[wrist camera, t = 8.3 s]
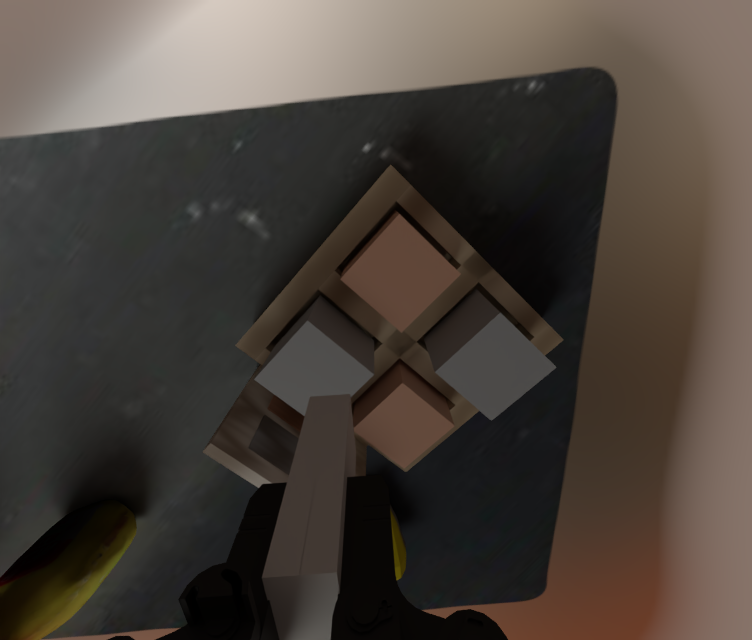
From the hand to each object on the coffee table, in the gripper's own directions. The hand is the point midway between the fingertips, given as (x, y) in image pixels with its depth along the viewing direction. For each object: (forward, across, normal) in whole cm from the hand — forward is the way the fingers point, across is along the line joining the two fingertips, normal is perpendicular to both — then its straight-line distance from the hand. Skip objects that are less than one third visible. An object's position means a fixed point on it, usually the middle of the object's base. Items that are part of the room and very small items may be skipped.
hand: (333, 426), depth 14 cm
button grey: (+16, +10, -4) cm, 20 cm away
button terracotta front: (+19, +4, +2) cm, 20 cm away
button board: (+20, +3, -5) cm, 21 cm away
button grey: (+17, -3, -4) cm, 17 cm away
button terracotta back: (+19, +4, -10) cm, 22 cm away
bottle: (+21, -32, -26) cm, 47 cm away
